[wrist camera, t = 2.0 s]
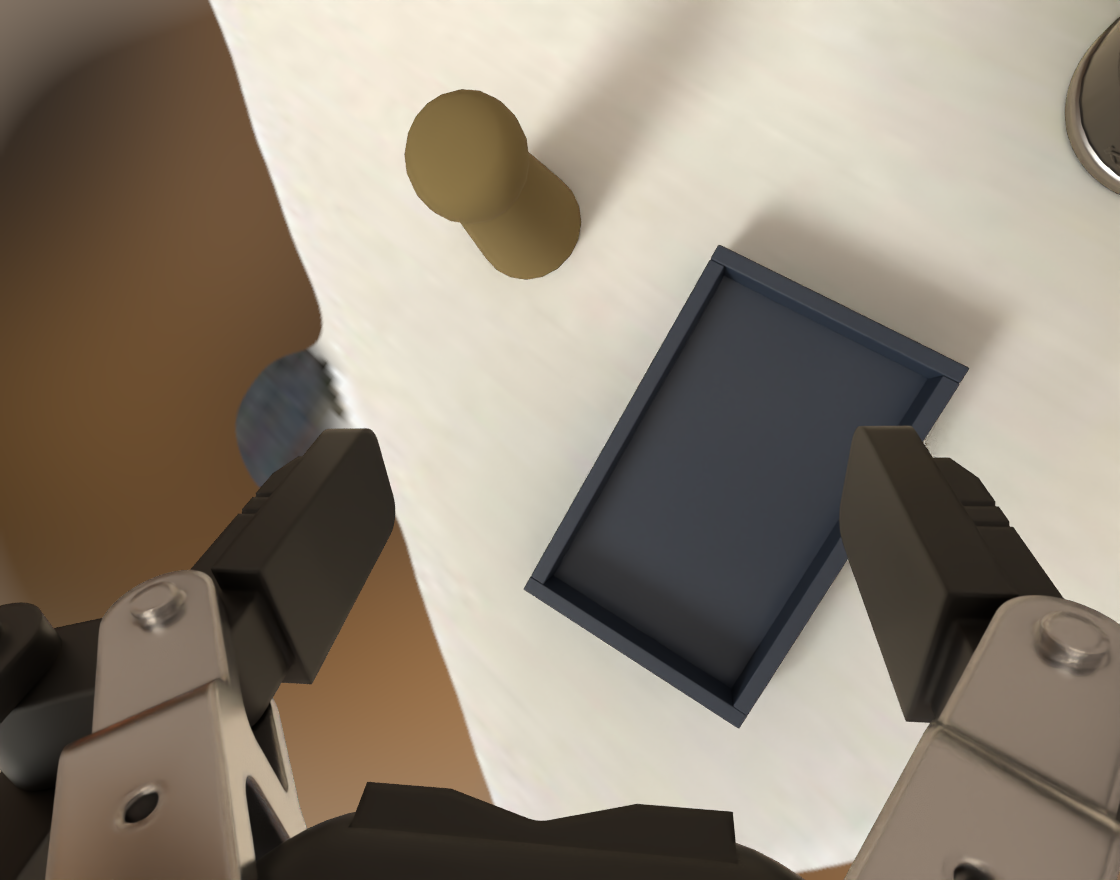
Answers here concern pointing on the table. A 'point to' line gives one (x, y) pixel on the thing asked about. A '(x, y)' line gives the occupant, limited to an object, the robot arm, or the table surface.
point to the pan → (733, 481)
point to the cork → (491, 183)
